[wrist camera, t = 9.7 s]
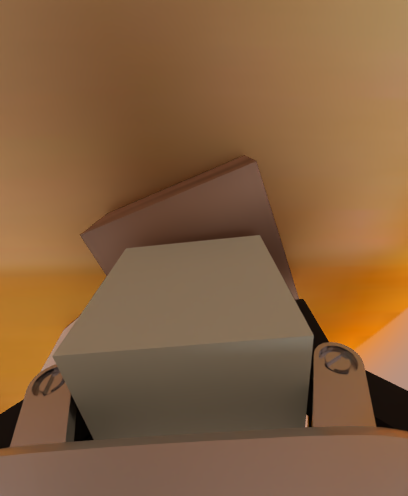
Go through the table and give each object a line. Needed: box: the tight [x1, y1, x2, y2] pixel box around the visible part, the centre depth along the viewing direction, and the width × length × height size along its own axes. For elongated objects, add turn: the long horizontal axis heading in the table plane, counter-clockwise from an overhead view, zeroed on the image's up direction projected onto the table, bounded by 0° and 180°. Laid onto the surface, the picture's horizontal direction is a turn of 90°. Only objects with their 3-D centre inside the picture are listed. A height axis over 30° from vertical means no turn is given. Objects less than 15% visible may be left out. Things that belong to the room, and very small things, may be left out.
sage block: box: [52, 235, 314, 440], centre depth 10 cm, size 6×6×6 cm
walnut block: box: [80, 155, 299, 299], centre depth 15 cm, size 9×9×4 cm
